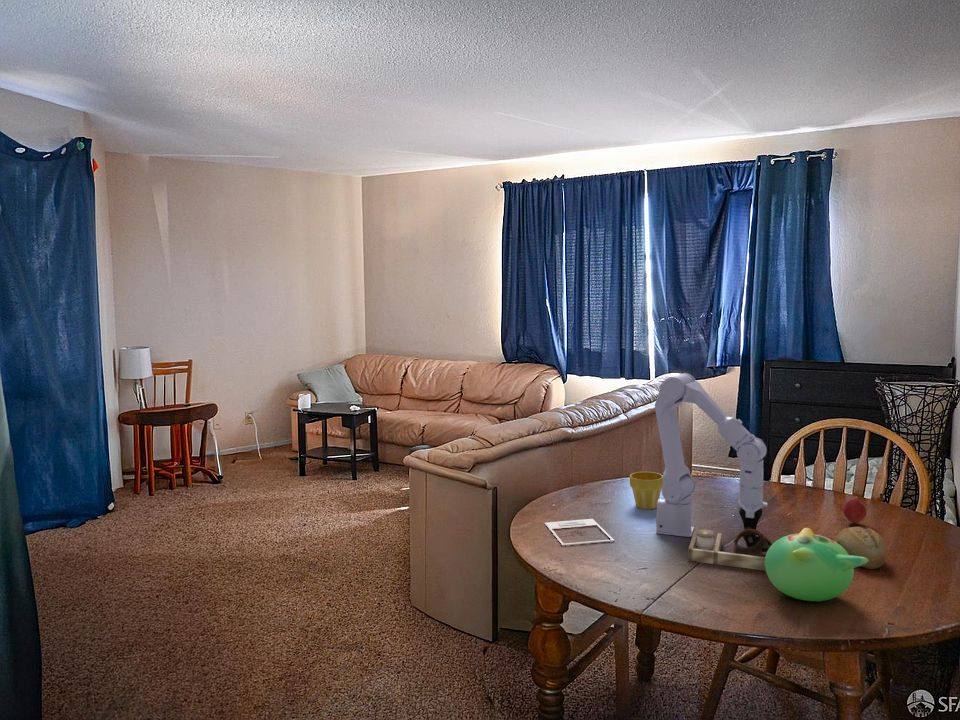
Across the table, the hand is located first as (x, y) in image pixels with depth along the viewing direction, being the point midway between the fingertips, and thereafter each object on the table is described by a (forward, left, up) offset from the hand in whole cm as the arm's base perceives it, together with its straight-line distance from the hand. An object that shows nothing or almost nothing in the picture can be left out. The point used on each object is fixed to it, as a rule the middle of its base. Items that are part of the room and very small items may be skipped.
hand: (750, 536), depth 188 cm
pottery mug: (+1, -7, -3) cm, 7 cm away
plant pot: (-31, +25, -3) cm, 40 cm away
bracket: (-3, -8, -3) cm, 9 cm away
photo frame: (-45, -5, -4) cm, 45 cm away
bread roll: (+26, 0, -3) cm, 26 cm away
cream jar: (-11, -9, -3) cm, 14 cm away
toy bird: (+13, -28, -3) cm, 31 cm away
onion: (+27, +28, -3) cm, 39 cm away
